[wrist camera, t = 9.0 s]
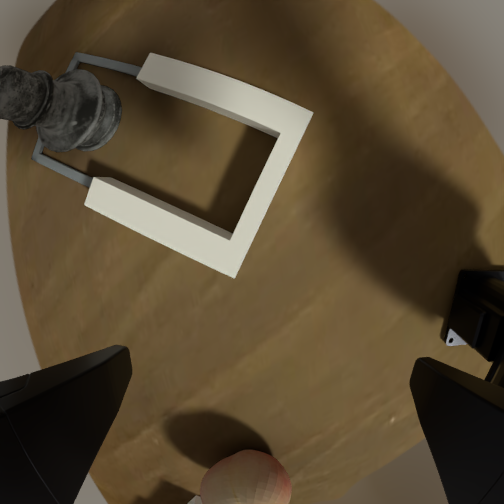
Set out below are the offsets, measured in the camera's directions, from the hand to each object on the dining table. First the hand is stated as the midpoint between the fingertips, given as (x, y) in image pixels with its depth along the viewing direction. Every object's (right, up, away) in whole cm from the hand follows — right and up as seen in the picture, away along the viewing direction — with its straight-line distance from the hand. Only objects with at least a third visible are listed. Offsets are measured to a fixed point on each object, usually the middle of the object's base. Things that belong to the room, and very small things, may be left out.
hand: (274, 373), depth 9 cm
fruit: (-1, -17, +17) cm, 24 cm away
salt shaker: (-13, +14, +11) cm, 22 cm away
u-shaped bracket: (-4, +10, +12) cm, 16 cm away
